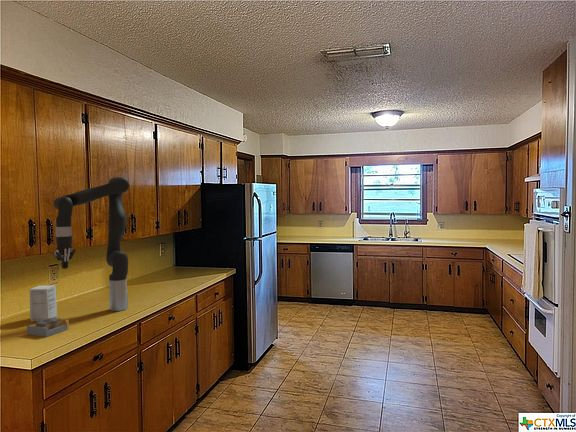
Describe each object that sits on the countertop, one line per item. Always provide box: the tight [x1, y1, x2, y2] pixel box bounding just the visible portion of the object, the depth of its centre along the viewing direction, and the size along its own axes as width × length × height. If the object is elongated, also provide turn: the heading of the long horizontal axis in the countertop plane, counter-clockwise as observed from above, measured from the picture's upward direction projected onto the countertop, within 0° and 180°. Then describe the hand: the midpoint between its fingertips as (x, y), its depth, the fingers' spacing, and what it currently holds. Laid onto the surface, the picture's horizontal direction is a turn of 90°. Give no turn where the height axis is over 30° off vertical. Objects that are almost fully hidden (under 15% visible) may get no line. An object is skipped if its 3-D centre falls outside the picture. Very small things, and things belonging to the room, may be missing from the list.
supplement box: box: [28, 285, 58, 322], centre depth 223 cm, size 10×9×17 cm
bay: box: [26, 318, 70, 338], centre depth 202 cm, size 12×12×4 cm
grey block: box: [35, 317, 62, 330], centre depth 201 cm, size 9×6×6 cm, turn 161°
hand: (64, 268), depth 221 cm, fingers closed
